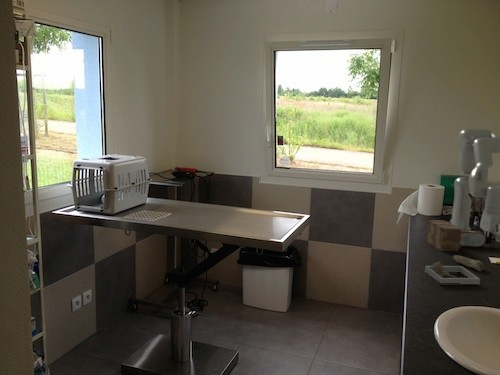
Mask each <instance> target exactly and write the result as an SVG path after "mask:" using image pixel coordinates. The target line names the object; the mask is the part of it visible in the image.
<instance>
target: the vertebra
mask: <svg viewBox="0 0 500 375" xmlns="http://www.w3.org/2000/svg"><path fill="white" fill-rule="evenodd" d="M432 266H434V268H435V270H436V271H434V272H435V273H437V274H438V275H439V276H440V277H442V278H447V277H451V278H458V277H457V276H456V275H453V274H451V273H449V272H448V271H446V270H445V269H443V267H442V266H443V263H441V261H440V260H438V261H437V262H435V263H433V264H432Z"/></svg>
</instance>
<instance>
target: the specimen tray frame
mask: <svg viewBox="0 0 500 375" xmlns="http://www.w3.org/2000/svg"><path fill="white" fill-rule="evenodd" d="M442 267H443V269H445V270H446V271H448V272H461V273H462V274H464V275H465V276H467V277H468V278H466V277H465V276H464V277H459V278H458V277H457V278H447V277H443V278H442V277H440V276H439V275H438V274H437V273H435V272H434V271H436V270H435V268H434V266H433V265H425V266H424V273H425V272H426V273H428V274H429V275H430V276H432V277H433V278H434V279H436V280H437V281H439V282H440V283H460V284H479V285H480V283H481V277H478V276H477V275H475V274H474V273H473V272H471V271H469V270H468V269H466V268H465V267H464V266H462V265H442ZM426 273H425V274H426ZM462 274H461V275H462ZM430 276H429V277H430Z"/></svg>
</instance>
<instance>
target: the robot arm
mask: <svg viewBox="0 0 500 375" xmlns="http://www.w3.org/2000/svg"><path fill="white" fill-rule="evenodd" d="M458 147H459V154H458V155H459V157H458V172H459V173H460V174H462V175H469V176H458V177H457V178H455V180H454V181H453V182H454V184H453V187H454V197H453V207H452V213H451V219H450V220H449V223H450V224H452V225H454V226H456V227H458V228H460V229H461V230H471V231H472V228H471V227H470V226H469V225H470V219H471V218H470V217H471V210H472V209H471V208H472V198H471V197H470V195H471V196H472V197H474V198H485V201H484V207H483V211H482V214H481V217H480V222H479V228H480V229H482V231H483V234H484V235H485V236H486V242H485V244H486V245H491V244H492V241H493V238H494V236H497V233H498V232H499V230H500V186H498V184H496V183H490V182H489V183H488V178H489V177H488V175H489V169H490V168H491V167H493V166H494V161H493V154H499V153H500V137H499V135H497V134H496V133H495V132H494V131H493V130H491V129H487V128H486V129H483V128H464V129H463V130H461V131H460V132H459V134H458ZM469 194H470V195H469ZM485 244H484V245H485Z"/></svg>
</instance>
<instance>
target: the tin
mask: <svg viewBox="0 0 500 375" xmlns="http://www.w3.org/2000/svg"><path fill="white" fill-rule="evenodd" d="M485 242H486V236H485V235H484V232H482V231H480V230H472V229H471V230H461V235H460V242H459V245H462V247H470V248H471V247H472V248H480V247H483V246H484V245H485Z"/></svg>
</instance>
